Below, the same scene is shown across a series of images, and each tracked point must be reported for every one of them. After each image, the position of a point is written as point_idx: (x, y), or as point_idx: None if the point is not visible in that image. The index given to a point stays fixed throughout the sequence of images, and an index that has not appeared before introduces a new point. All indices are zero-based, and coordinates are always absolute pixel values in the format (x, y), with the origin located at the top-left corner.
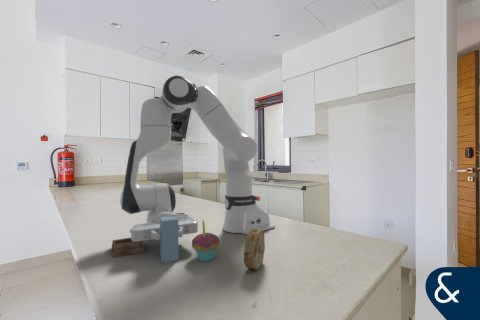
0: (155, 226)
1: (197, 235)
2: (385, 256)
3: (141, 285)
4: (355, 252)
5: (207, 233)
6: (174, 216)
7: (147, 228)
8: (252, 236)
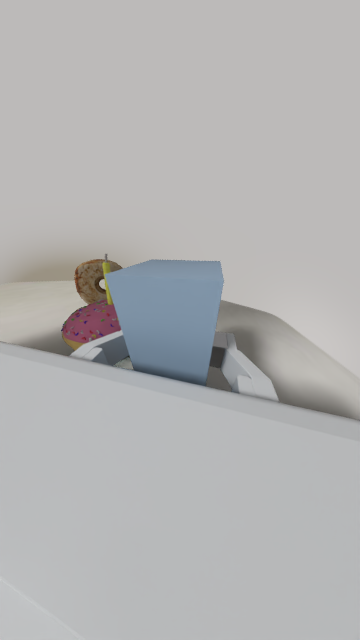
0: (248, 434)
1: (106, 319)
2: (46, 282)
3: (245, 333)
4: (37, 288)
5: (88, 307)
6: (114, 273)
7: (333, 423)
8: (114, 262)
